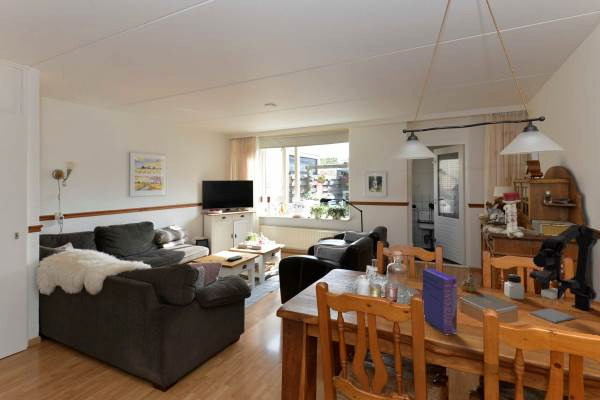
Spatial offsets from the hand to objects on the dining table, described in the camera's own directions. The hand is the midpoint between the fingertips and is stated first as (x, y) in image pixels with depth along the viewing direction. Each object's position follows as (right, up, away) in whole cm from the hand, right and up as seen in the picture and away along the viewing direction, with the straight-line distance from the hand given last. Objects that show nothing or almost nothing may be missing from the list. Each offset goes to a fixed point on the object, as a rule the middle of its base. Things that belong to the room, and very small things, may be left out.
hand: (552, 297), depth 150 cm
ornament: (-20, -8, +36) cm, 42 cm away
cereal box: (-57, -11, -7) cm, 59 cm away
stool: (0, -3, 0) cm, 3 cm away
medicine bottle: (-1, -8, +25) cm, 27 cm away
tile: (0, -9, 0) cm, 9 cm away
